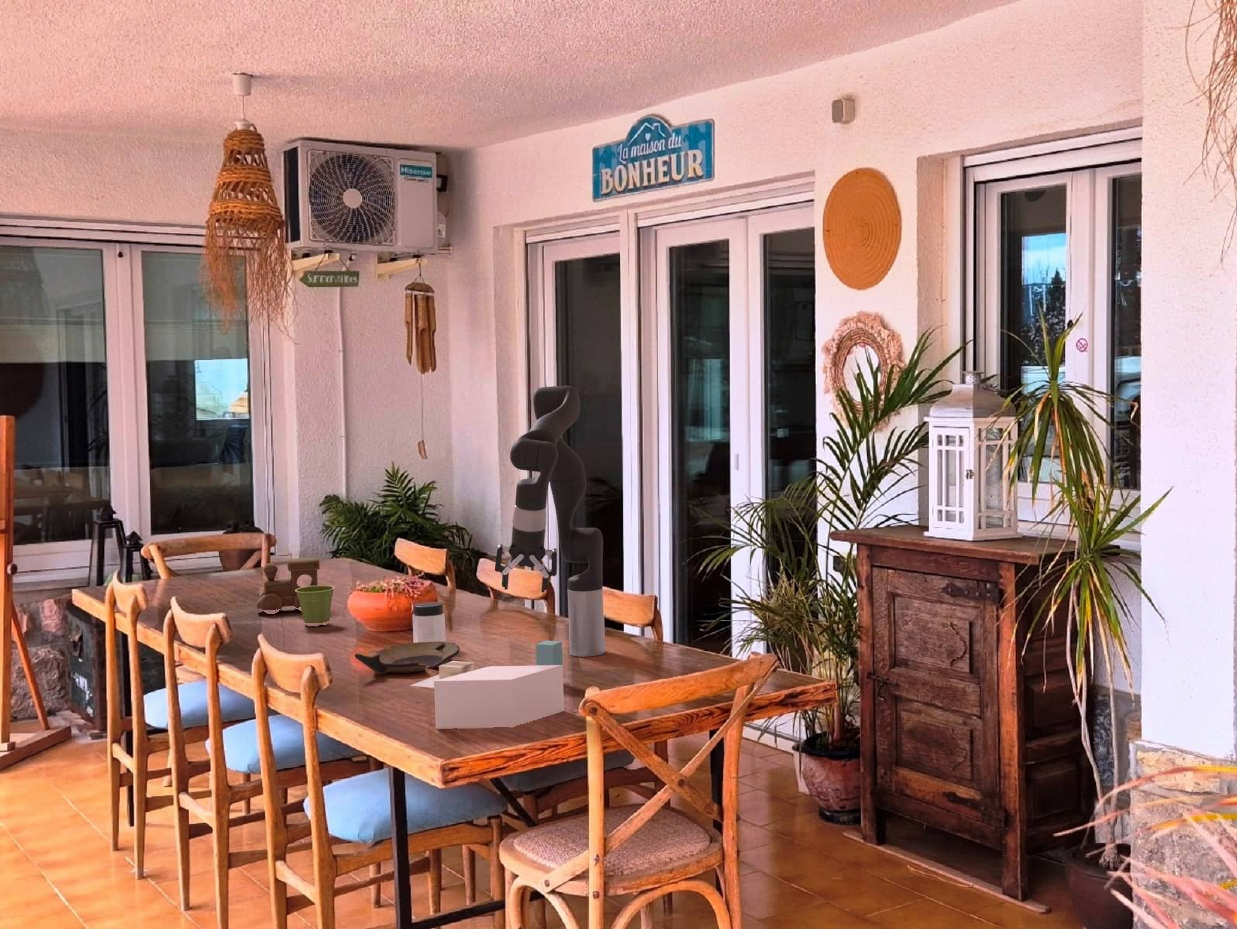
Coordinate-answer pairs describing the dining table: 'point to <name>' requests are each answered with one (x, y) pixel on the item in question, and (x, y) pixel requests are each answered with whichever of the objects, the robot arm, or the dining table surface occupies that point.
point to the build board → (427, 682)
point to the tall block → (549, 653)
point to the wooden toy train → (286, 584)
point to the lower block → (455, 668)
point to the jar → (428, 622)
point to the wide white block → (498, 696)
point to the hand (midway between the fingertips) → (524, 589)
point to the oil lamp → (410, 657)
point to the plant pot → (315, 603)
